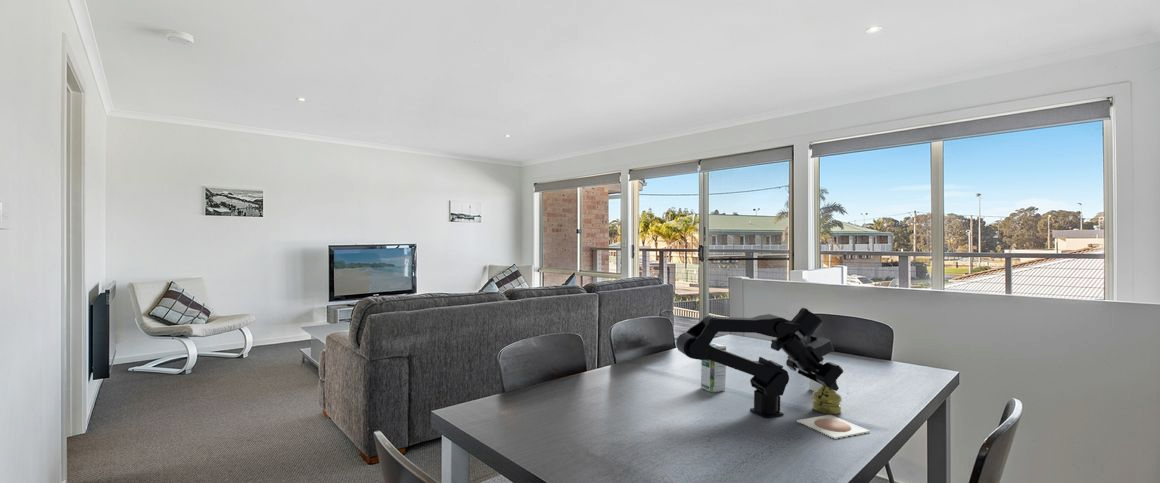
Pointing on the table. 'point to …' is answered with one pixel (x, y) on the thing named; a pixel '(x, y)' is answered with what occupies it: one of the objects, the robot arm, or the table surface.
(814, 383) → the eye dropper bottle
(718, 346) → the syrup box
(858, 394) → the table surface
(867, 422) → the table surface
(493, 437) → the table surface
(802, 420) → the card
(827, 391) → the brass door knob
